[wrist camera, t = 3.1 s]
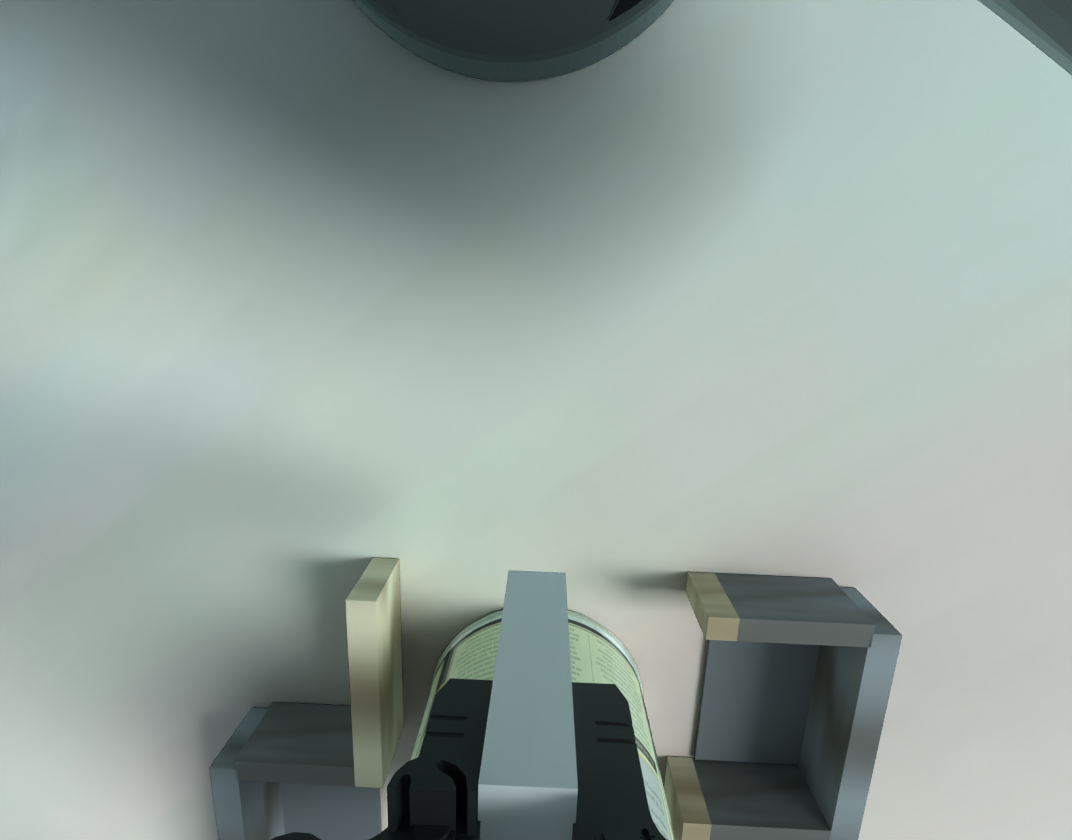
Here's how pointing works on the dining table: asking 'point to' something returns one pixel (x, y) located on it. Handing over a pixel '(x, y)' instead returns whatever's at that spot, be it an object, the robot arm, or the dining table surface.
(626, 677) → the coffee can
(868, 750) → the channel
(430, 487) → the dining table surface
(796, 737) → the mats
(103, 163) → the dining table surface
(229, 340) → the dining table surface
